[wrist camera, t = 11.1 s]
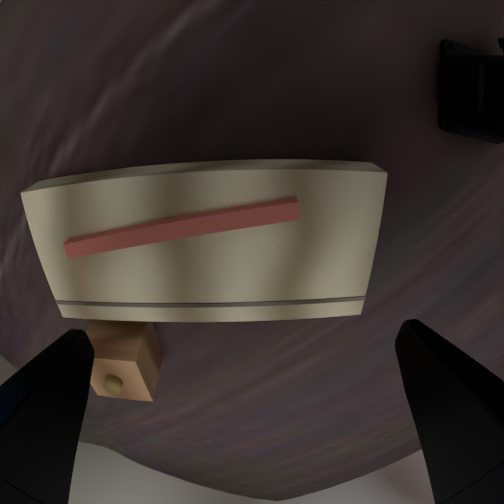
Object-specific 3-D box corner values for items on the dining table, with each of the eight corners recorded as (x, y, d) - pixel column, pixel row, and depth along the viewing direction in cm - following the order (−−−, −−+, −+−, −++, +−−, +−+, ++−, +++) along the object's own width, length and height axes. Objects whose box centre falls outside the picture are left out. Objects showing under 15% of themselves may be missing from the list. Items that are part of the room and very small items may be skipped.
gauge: (150, 313, 23) (132, 370, 18) (162, 355, 25) (151, 409, 20) (95, 312, 23) (70, 363, 18) (112, 352, 25) (95, 402, 20)
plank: (371, 162, 17) (388, 173, 15) (351, 293, 22) (361, 315, 20) (39, 180, 17) (19, 193, 15) (74, 298, 22) (62, 317, 20)
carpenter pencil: (296, 197, 16) (298, 202, 15) (298, 214, 16) (300, 219, 16) (67, 239, 17) (62, 244, 16) (73, 253, 17) (68, 258, 16)
